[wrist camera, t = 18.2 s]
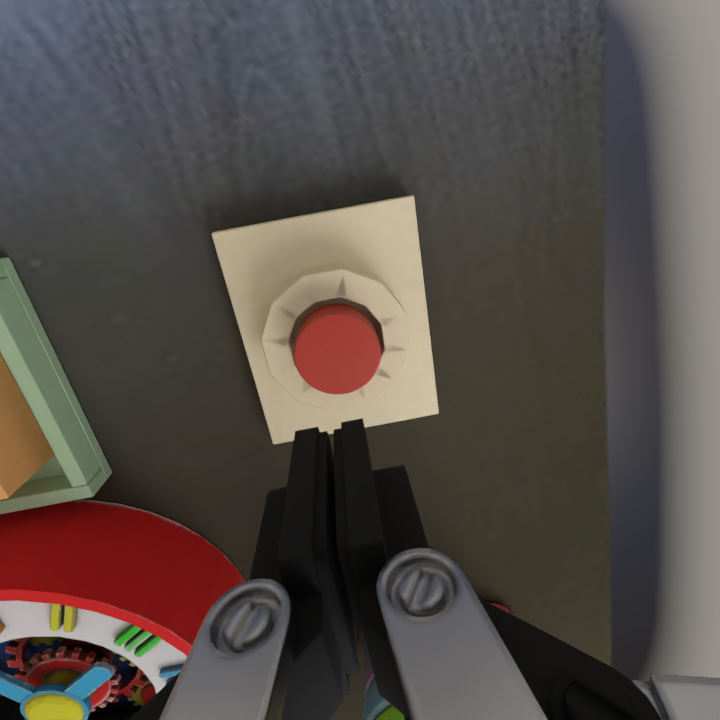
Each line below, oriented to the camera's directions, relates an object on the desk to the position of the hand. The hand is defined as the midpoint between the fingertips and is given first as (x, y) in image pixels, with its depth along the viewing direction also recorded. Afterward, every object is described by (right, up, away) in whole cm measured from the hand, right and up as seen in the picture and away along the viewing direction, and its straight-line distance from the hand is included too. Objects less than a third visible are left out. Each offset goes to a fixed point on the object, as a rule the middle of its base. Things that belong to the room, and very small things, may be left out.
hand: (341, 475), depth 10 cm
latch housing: (-1, +5, +11) cm, 12 cm away
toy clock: (-17, -14, +17) cm, 28 cm away
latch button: (-1, +4, +8) cm, 9 cm away
